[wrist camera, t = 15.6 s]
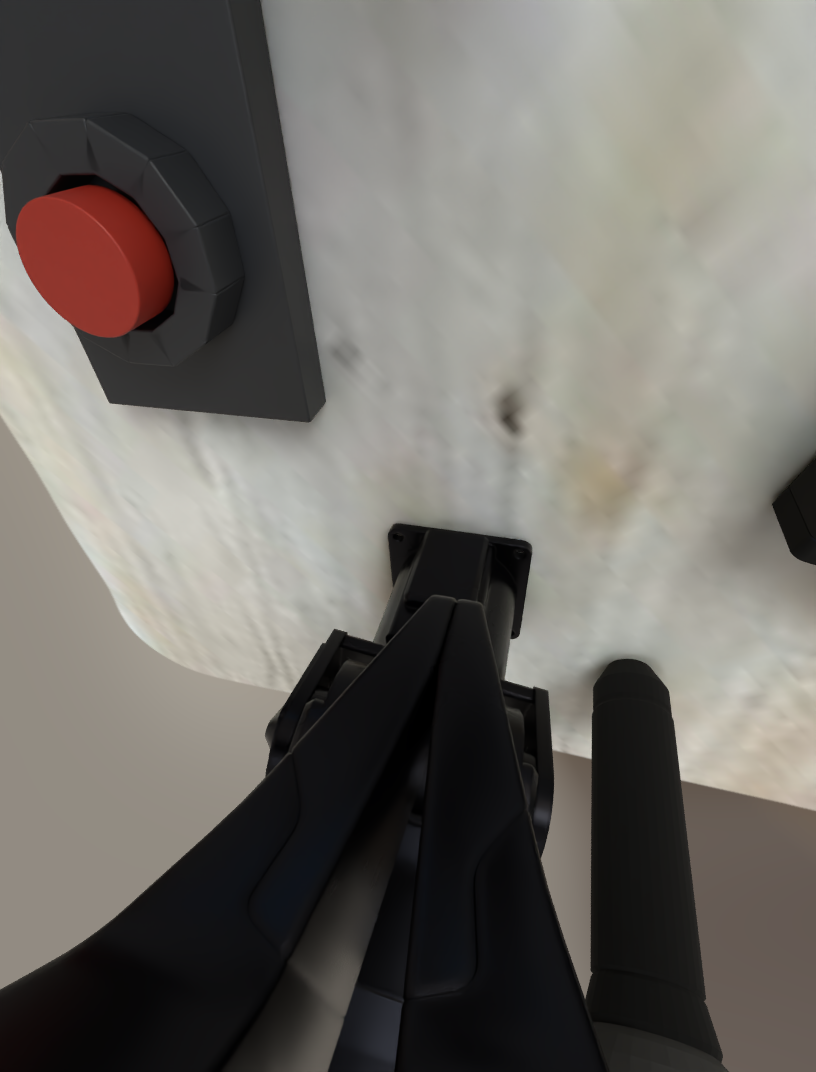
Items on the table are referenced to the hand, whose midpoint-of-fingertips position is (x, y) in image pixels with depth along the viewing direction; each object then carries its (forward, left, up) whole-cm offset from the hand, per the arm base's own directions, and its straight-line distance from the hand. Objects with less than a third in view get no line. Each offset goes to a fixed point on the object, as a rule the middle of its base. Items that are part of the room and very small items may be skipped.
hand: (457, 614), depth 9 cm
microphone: (-17, -7, -12) cm, 22 cm away
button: (+3, +12, -9) cm, 15 cm away
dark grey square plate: (+3, +12, -12) cm, 17 cm away
